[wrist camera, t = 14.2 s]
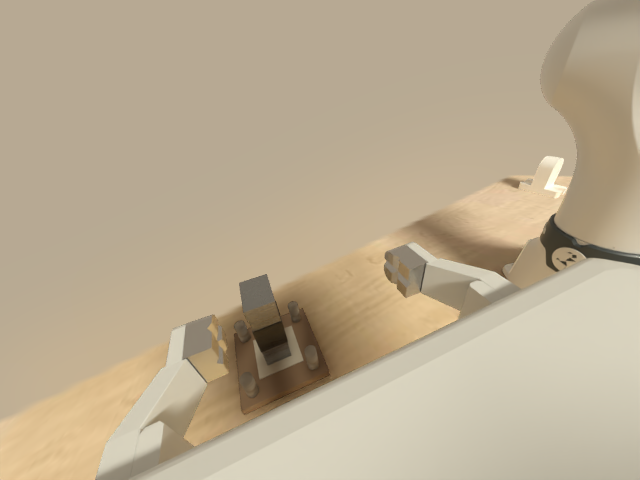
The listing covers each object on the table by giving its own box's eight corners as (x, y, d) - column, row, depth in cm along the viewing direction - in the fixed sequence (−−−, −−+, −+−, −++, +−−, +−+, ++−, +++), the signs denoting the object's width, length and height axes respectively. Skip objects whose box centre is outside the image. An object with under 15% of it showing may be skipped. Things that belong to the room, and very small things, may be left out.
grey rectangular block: (284, 331, 38) (267, 273, 31) (293, 360, 34) (275, 301, 27) (261, 340, 37) (238, 283, 30) (268, 371, 33) (242, 313, 26)
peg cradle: (303, 312, 43) (299, 294, 40) (329, 374, 33) (326, 356, 31) (236, 338, 40) (227, 320, 37) (244, 414, 30) (232, 398, 28)
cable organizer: (526, 184, 76) (539, 152, 71) (565, 193, 69) (583, 158, 63) (516, 188, 74) (529, 156, 69) (555, 198, 67) (573, 163, 61)
